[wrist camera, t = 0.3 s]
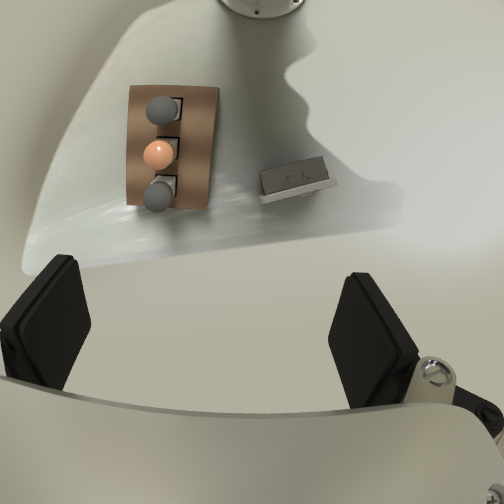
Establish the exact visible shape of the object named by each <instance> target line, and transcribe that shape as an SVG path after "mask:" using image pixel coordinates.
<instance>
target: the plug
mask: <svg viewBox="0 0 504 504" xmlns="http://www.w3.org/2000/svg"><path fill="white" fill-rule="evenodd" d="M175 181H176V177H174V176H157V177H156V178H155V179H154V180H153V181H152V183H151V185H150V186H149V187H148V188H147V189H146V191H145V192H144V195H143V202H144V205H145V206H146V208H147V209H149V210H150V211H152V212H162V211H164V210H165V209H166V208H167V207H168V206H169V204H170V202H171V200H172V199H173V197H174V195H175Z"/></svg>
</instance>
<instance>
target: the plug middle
mask: <svg viewBox="0 0 504 504" xmlns="http://www.w3.org/2000/svg"><path fill="white" fill-rule="evenodd" d="M177 145H178V139H176V138H158V139H157V140H155V141H153V142H152V143H151V144H149V145H148V146H147V147H146V149H145V151H144V155H143V157H144V161H145V163H146V165H147V166H148V167H149V168H151V169H153V170H162V169H164V168H166V167H167V166H168V165H169V164H170V163H172V162H173V161H174V160H175V158H176V157H177Z"/></svg>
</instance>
